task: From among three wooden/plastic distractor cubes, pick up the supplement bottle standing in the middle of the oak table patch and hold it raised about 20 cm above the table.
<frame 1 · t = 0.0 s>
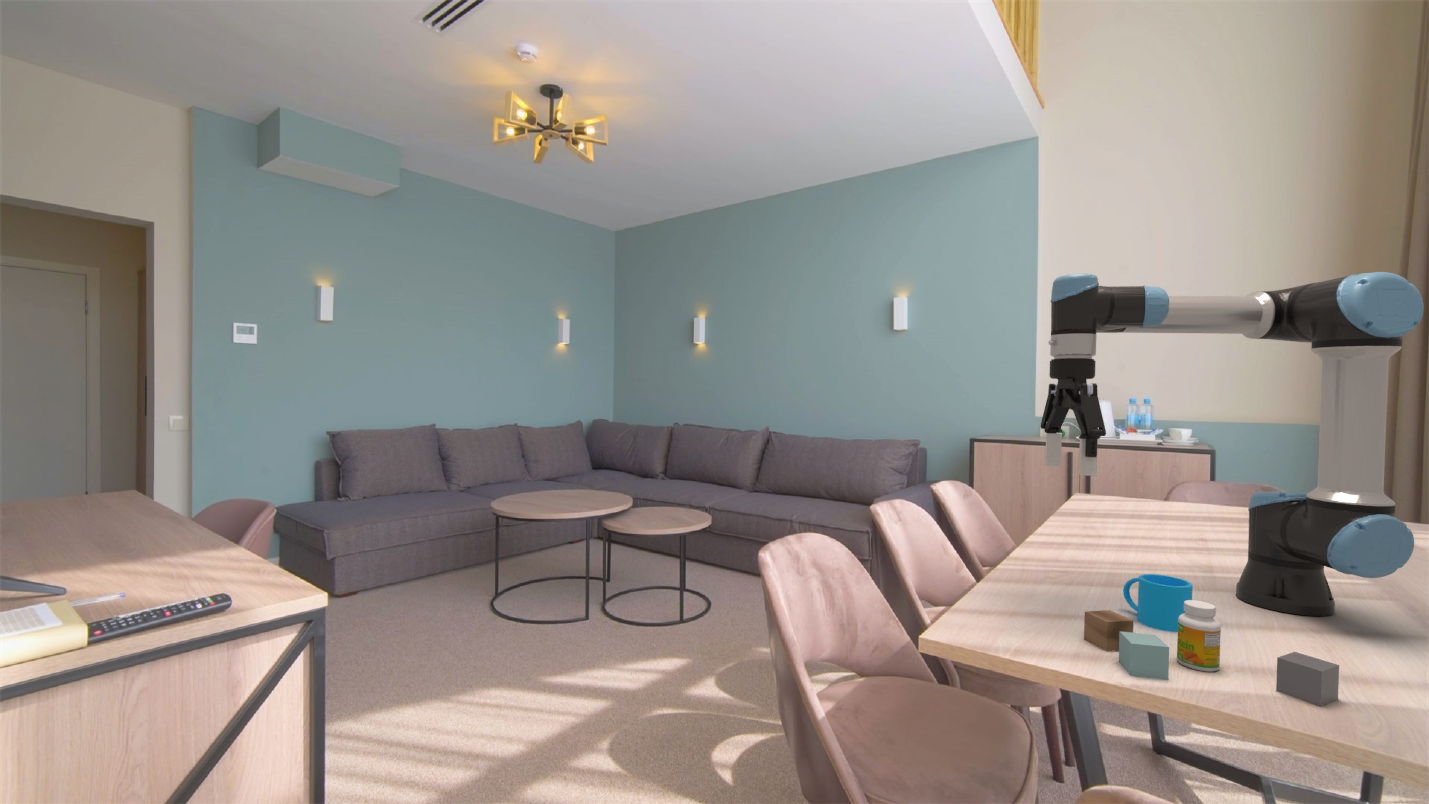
hand: (1069, 470, 121), 28 cm above the table, fingers open, 13 cm apart
charcoal cube: (1306, 695, 91), on the table
teal cube: (1142, 670, 99), on the table
walnut cube: (1107, 644, 109), on the table
supplement bottle: (1197, 666, 101), on the table
mug: (1153, 621, 120), on the table
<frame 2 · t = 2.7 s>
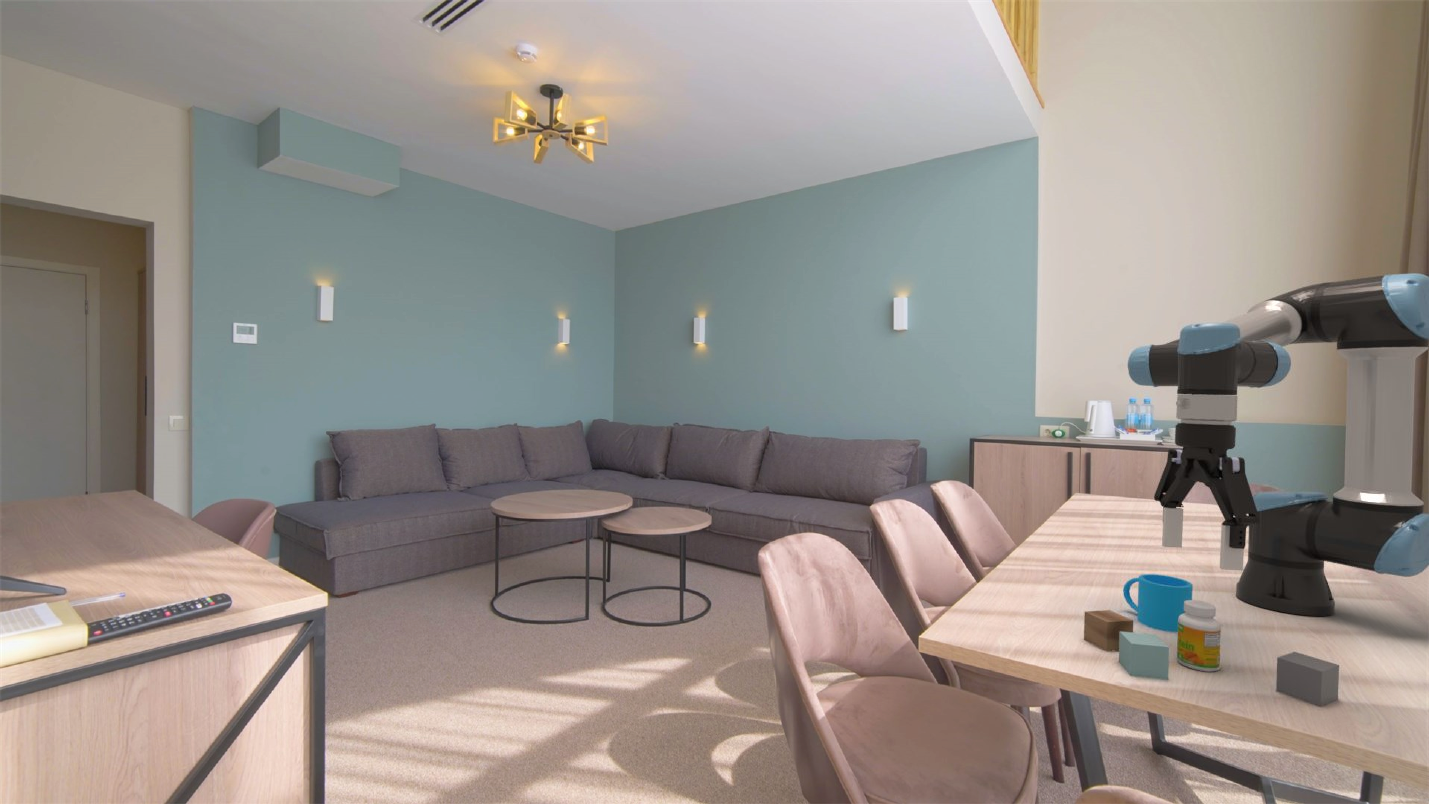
hand: (1199, 557, 100), 17 cm above the table, fingers open, 13 cm apart
nothing on the table moved.
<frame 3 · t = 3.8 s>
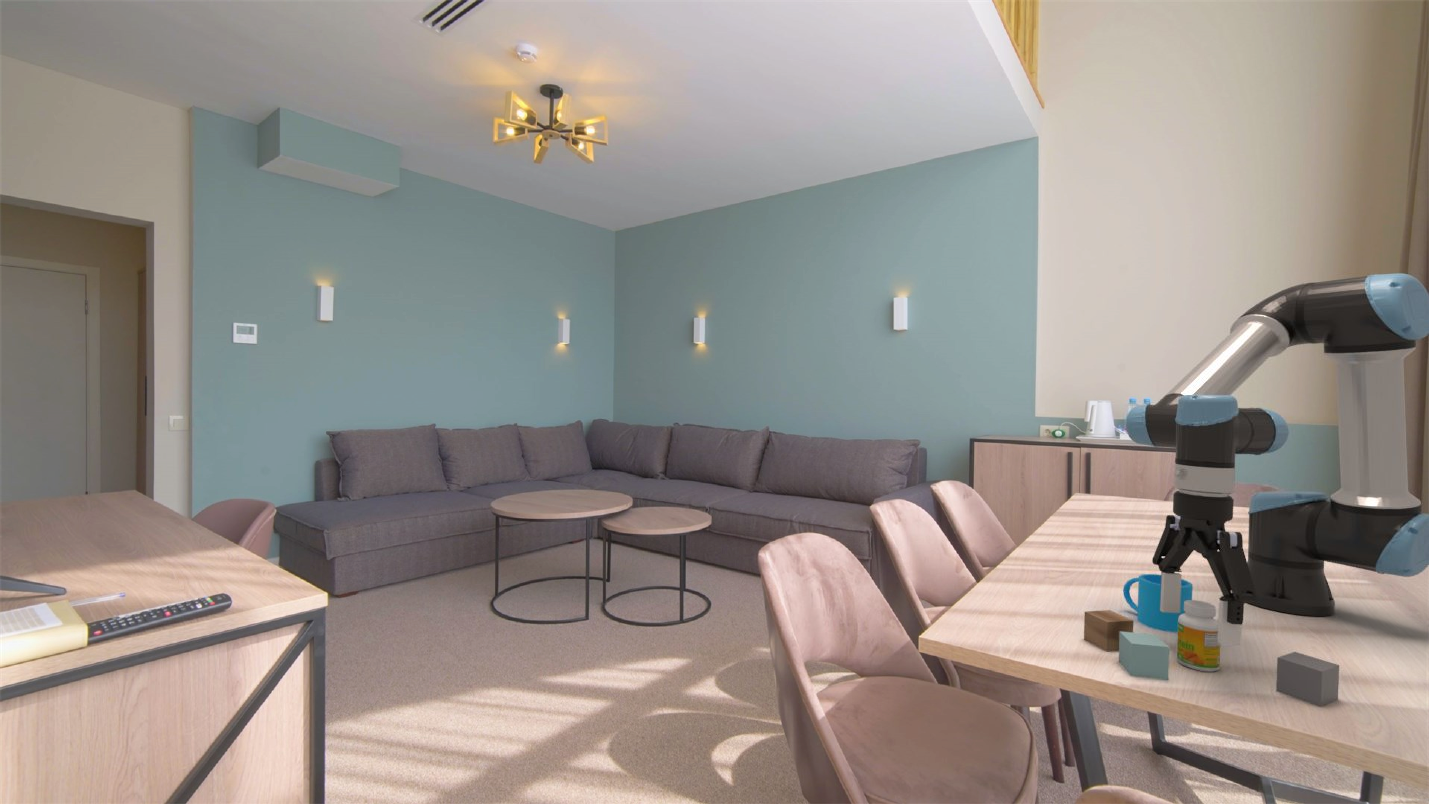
hand: (1197, 626, 101), 6 cm above the table, fingers open, 13 cm apart
nothing on the table moved.
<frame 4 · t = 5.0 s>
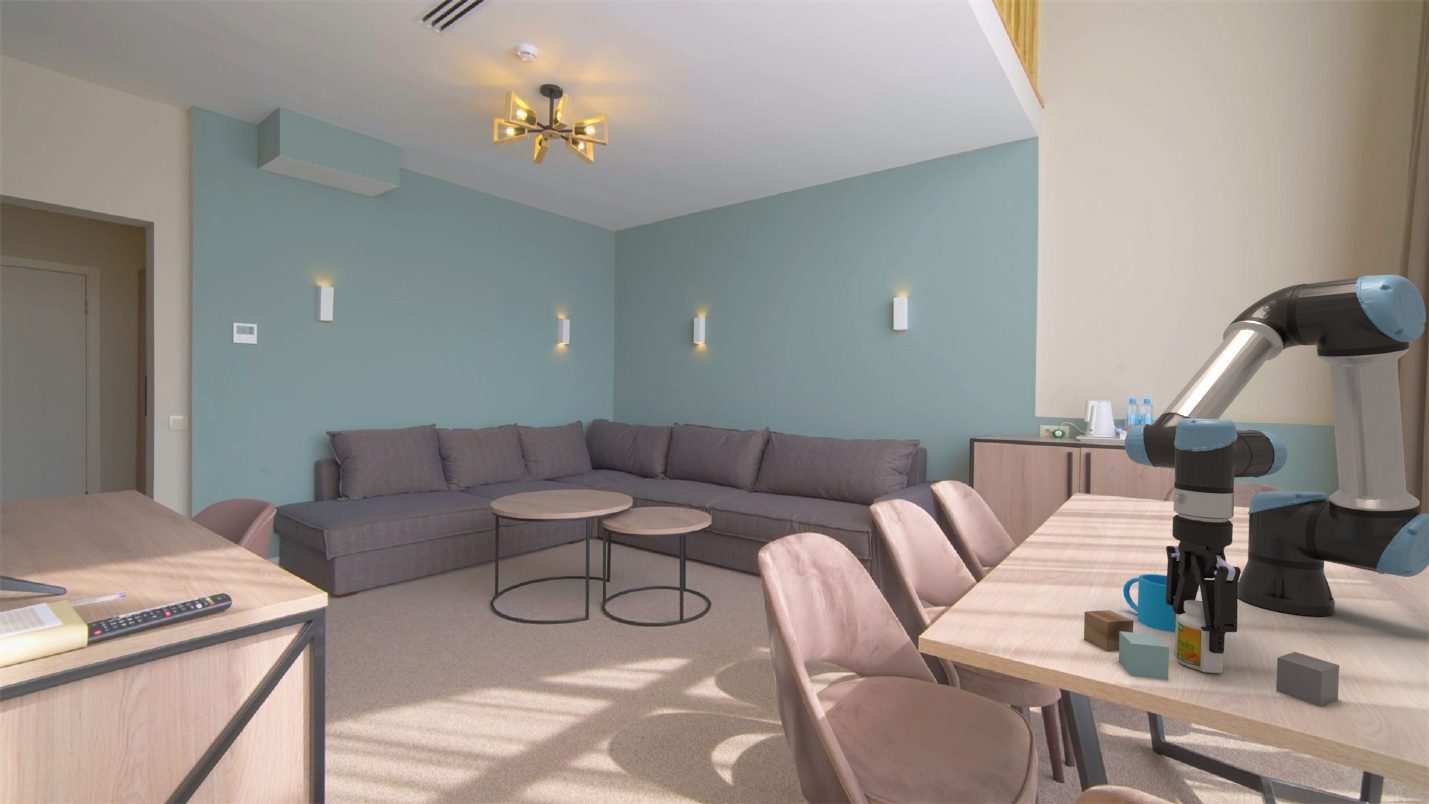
hand: (1197, 662, 101), 0 cm above the table, fingers closed on supplement bottle, 5 cm apart
supplement bottle: (1197, 666, 101), on the table, touching gripper
everything else where it was.
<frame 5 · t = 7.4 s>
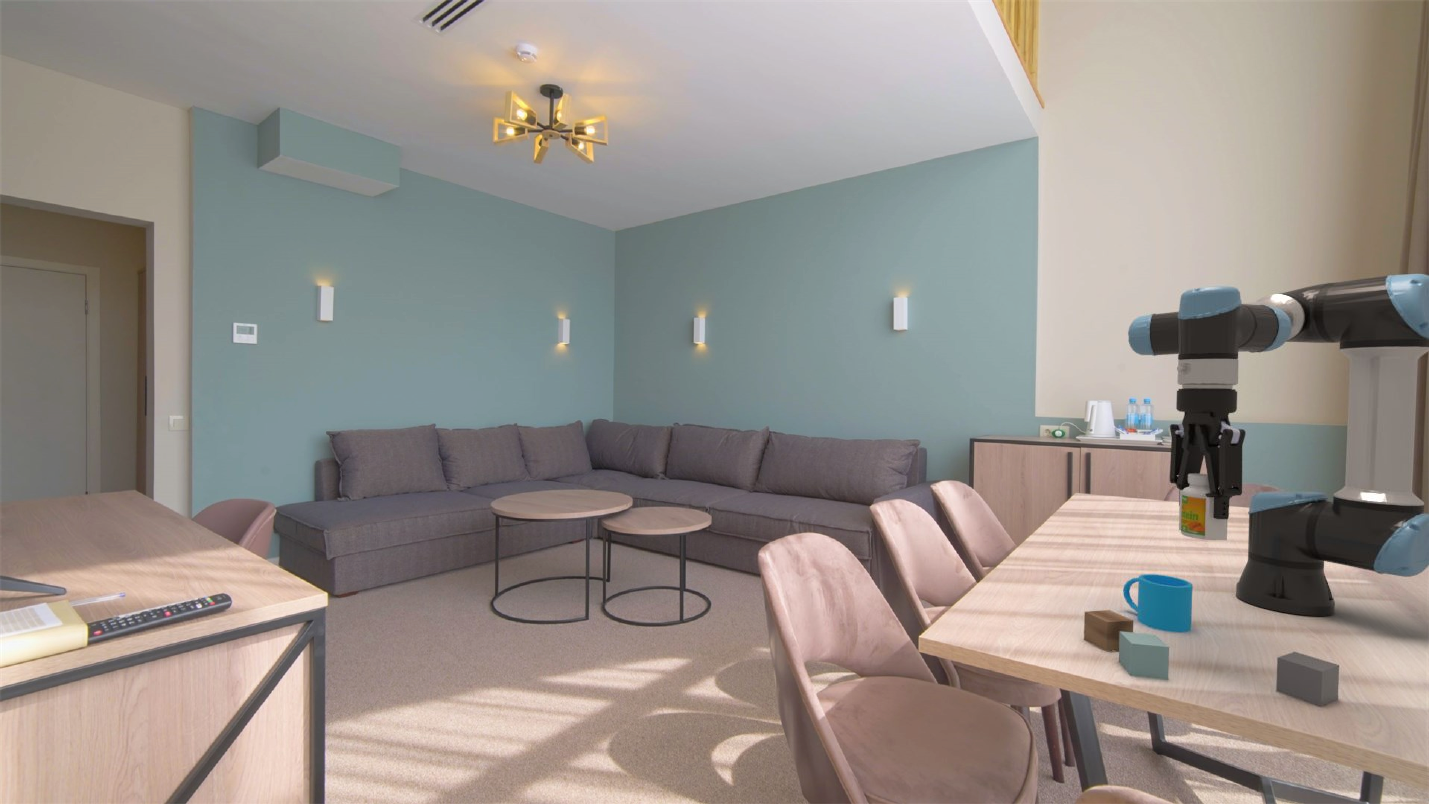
hand: (1202, 534, 100), 21 cm above the table, fingers closed on supplement bottle, 5 cm apart
supplement bottle: (1201, 537, 100), point 20 cm above the table, touching gripper
everything else where it was.
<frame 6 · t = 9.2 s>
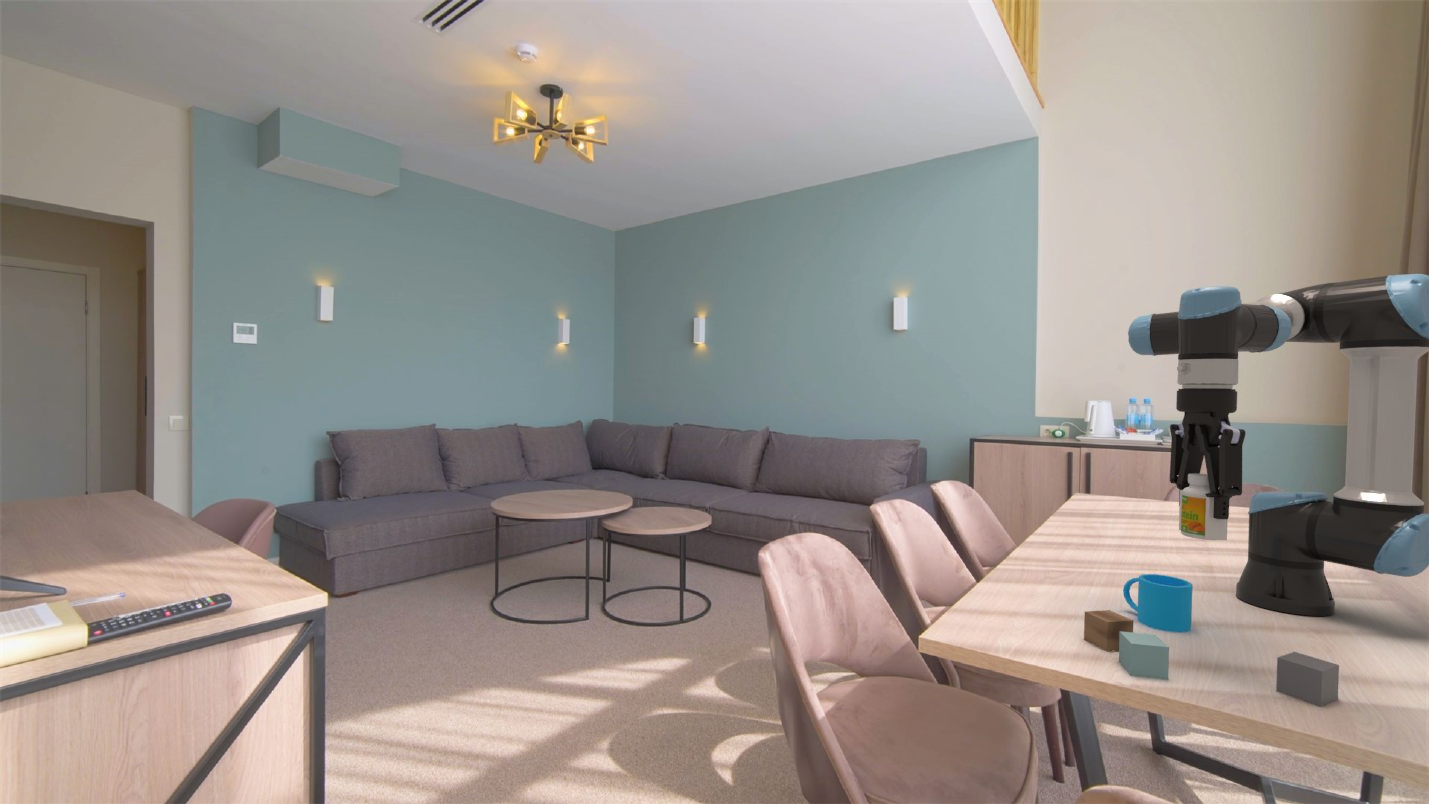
hand: (1202, 534, 100), 21 cm above the table, fingers closed on supplement bottle, 5 cm apart
supplement bottle: (1201, 537, 100), point 20 cm above the table, touching gripper
everything else where it was.
at the end: the gripper is holding supplement bottle; supplement bottle point 20.2 cm above the table; teal cube moved 0.1 cm from its start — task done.
